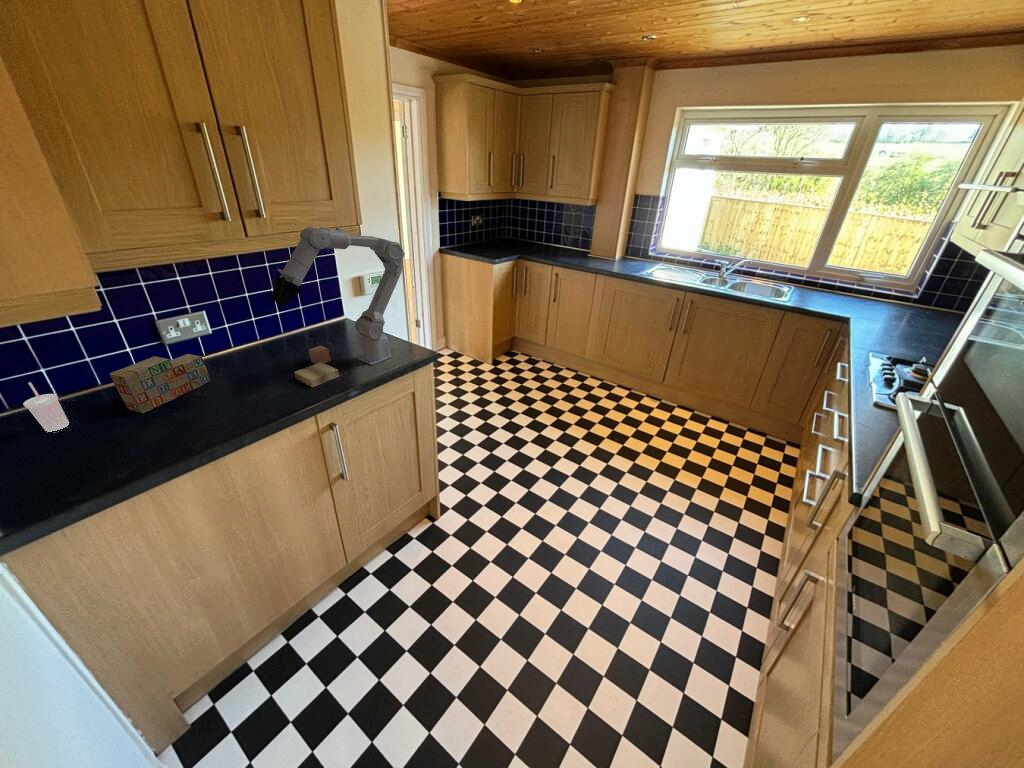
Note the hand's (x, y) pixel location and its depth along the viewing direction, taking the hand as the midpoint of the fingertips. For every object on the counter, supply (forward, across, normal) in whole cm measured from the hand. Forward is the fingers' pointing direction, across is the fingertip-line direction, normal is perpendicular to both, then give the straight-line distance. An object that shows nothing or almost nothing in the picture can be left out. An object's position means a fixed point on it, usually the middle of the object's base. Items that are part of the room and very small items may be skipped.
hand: (277, 302), depth 120 cm
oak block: (+17, -3, +23) cm, 29 cm away
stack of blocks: (+41, -20, -7) cm, 46 cm away
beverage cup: (+58, -17, -26) cm, 66 cm away
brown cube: (+13, -16, +26) cm, 33 cm away
